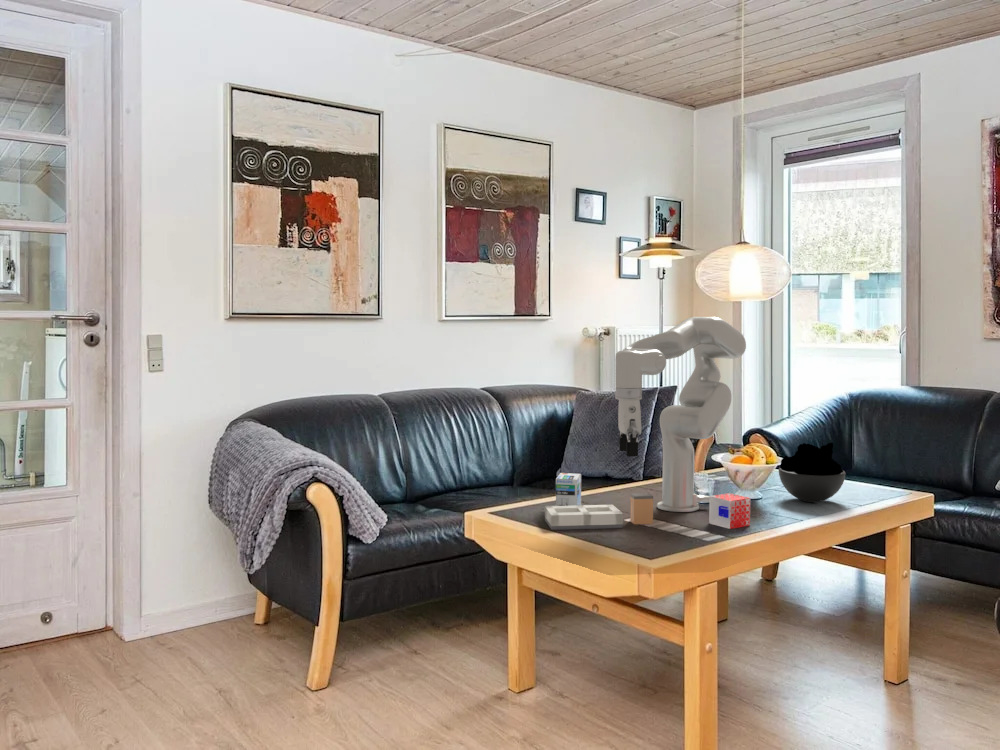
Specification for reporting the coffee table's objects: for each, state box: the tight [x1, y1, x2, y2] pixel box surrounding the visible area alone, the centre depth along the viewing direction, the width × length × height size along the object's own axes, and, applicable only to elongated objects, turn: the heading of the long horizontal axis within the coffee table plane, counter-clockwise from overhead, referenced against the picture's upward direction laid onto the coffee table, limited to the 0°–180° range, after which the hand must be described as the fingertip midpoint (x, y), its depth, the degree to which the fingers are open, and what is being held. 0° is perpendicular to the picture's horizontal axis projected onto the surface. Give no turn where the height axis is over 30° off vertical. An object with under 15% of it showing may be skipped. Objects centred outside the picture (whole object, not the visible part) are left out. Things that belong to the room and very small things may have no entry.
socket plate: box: [544, 504, 624, 531], centre depth 247 cm, size 20×12×4 cm, turn 96°
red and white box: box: [708, 492, 751, 530], centre depth 246 cm, size 8×8×8 cm
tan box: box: [629, 492, 654, 525], centre depth 249 cm, size 6×4×8 cm
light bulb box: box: [555, 472, 582, 506], centre depth 264 cm, size 11×7×11 cm, turn 168°
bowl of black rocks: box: [778, 442, 846, 503], centre depth 276 cm, size 20×20×19 cm
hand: (628, 453), depth 249 cm, fingers open, 9 cm apart
